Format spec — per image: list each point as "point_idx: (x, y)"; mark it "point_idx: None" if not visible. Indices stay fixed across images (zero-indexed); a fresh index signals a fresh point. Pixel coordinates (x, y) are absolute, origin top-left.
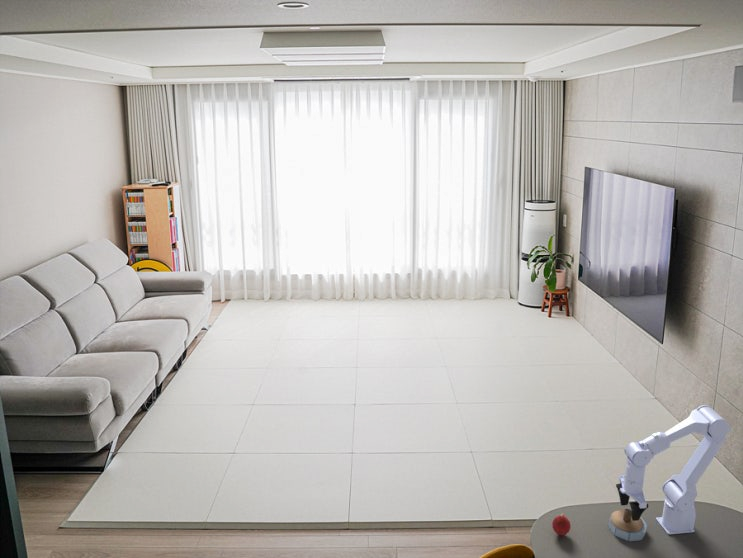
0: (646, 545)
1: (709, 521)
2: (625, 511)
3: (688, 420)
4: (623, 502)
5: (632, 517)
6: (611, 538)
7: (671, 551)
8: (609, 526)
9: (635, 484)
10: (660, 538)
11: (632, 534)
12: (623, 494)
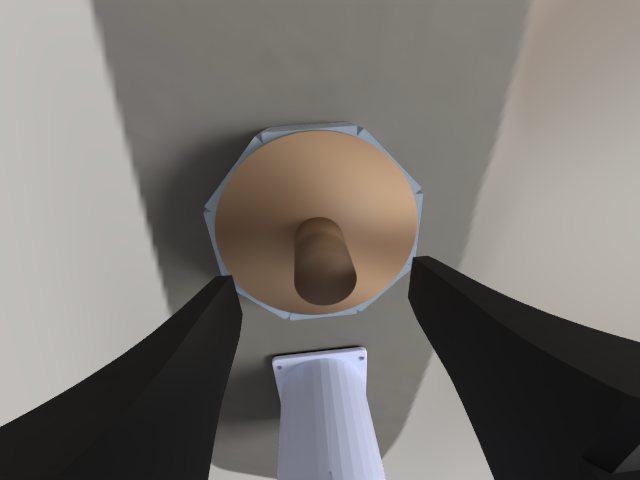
0: (198, 264)
1: None
2: (325, 261)
3: None
4: (424, 286)
5: (199, 293)
6: (236, 94)
7: None
8: (335, 122)
9: None
10: (251, 327)
11: (209, 225)
12: (486, 353)
